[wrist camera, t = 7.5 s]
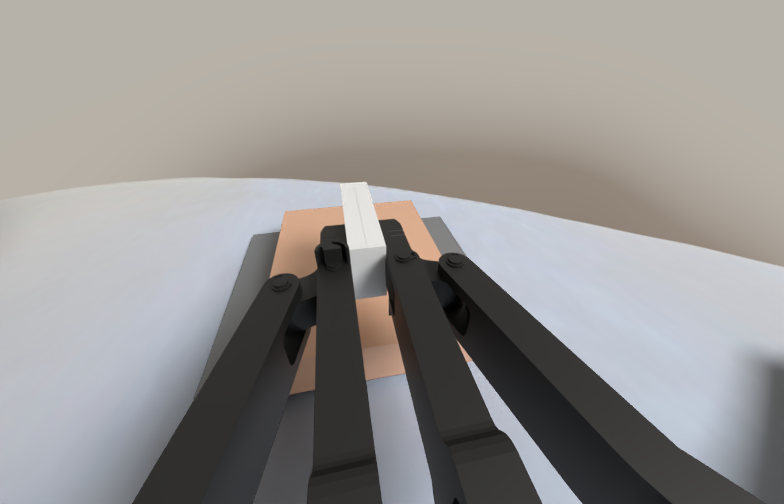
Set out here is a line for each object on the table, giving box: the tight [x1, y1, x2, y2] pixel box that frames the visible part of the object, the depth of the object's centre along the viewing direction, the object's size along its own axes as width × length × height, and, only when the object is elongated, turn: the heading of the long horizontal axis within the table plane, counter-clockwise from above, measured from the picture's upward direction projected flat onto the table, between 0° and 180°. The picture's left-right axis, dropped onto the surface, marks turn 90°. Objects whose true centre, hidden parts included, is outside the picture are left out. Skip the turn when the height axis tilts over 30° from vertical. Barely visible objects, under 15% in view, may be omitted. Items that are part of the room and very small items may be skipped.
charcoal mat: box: [194, 217, 467, 400], centre depth 24 cm, size 20×17×1 cm
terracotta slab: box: [270, 200, 473, 394], centre depth 22 cm, size 12×3×16 cm
